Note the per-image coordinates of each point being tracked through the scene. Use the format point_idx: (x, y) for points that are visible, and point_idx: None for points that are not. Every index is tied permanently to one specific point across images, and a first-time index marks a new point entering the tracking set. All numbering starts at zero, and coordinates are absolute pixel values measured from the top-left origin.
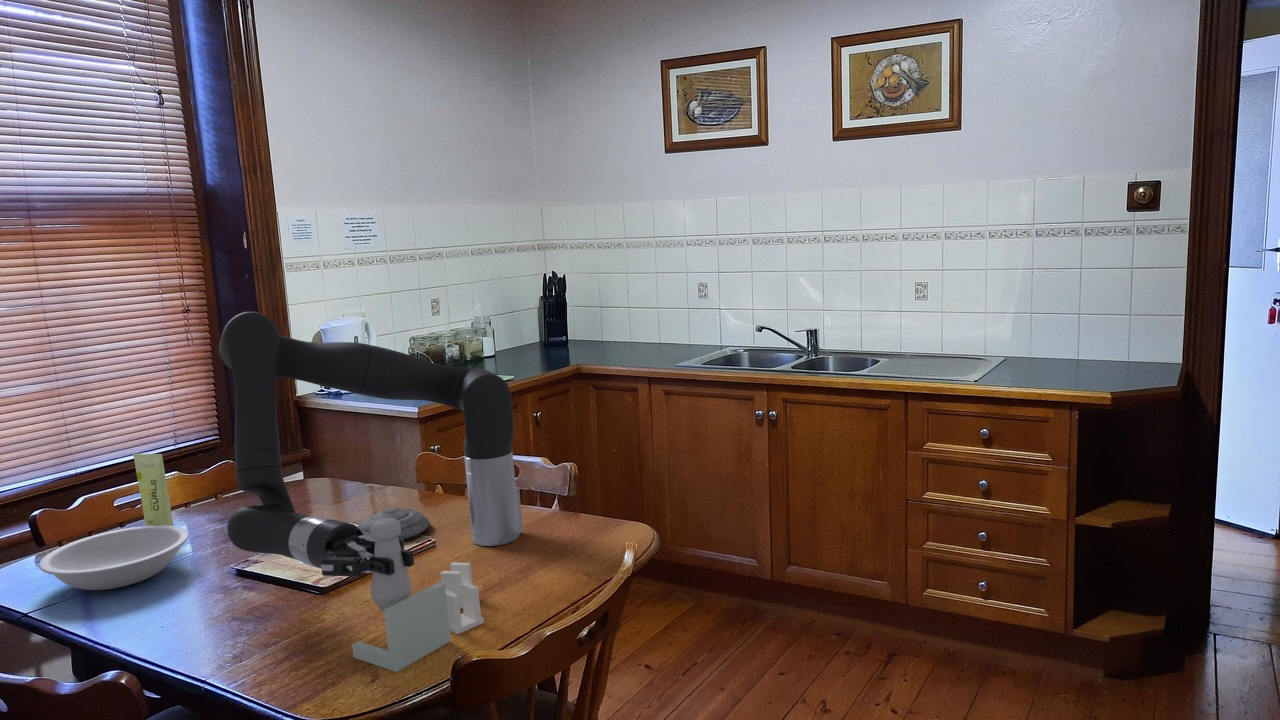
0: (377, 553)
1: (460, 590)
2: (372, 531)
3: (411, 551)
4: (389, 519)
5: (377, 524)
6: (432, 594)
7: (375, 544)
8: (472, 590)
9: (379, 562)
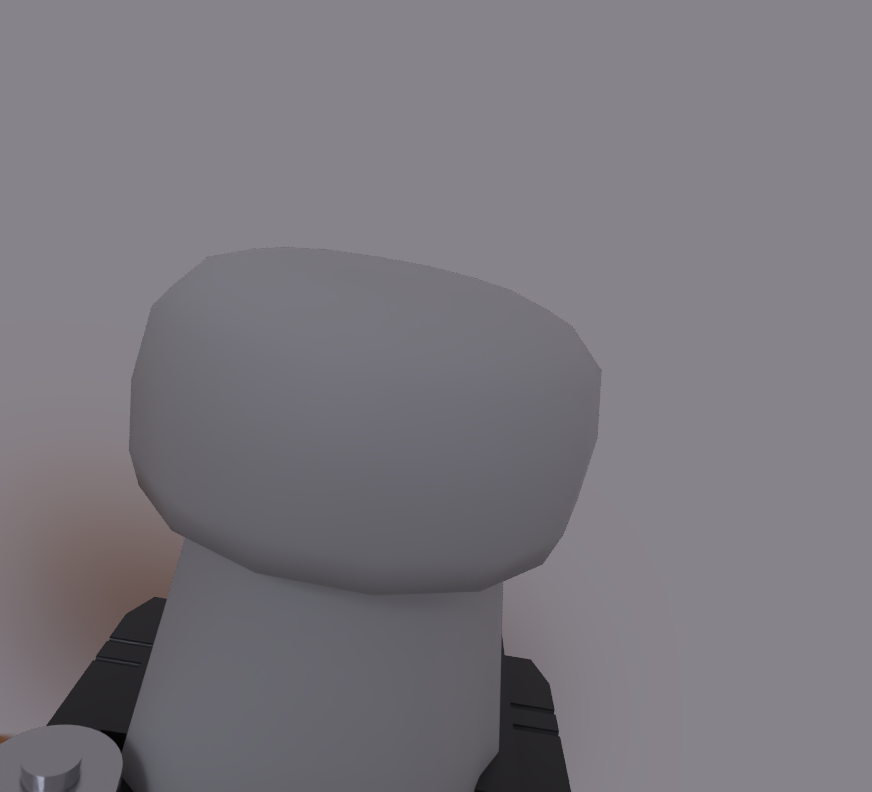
0: (495, 699)
1: None
2: (597, 419)
3: (130, 613)
4: (326, 254)
5: (541, 307)
6: None
7: (452, 676)
8: None
9: (523, 720)
